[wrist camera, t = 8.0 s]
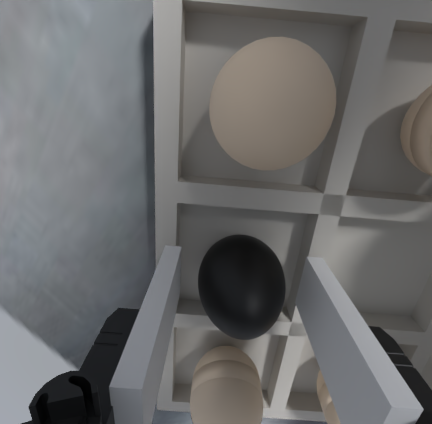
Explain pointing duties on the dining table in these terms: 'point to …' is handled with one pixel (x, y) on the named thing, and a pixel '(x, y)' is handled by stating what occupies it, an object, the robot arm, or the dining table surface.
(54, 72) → the dining table surface
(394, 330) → the carton
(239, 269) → the egg
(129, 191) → the dining table surface
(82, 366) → the robot arm
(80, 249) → the dining table surface
